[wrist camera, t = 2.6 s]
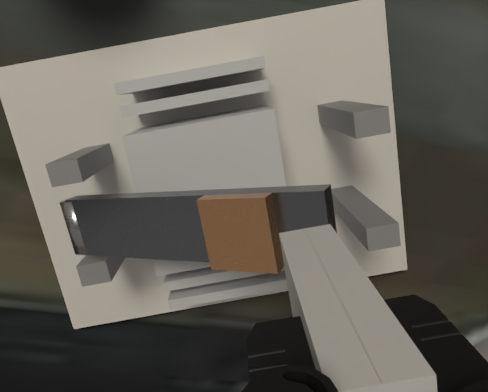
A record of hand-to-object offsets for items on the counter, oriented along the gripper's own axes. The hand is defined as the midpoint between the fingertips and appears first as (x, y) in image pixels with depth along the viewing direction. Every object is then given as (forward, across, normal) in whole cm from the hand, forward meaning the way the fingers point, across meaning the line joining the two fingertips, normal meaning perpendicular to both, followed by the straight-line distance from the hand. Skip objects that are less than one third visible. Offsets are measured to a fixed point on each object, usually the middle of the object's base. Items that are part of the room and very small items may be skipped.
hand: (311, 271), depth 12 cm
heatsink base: (+17, -4, 0) cm, 17 cm away
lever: (+7, -4, 0) cm, 8 cm away
